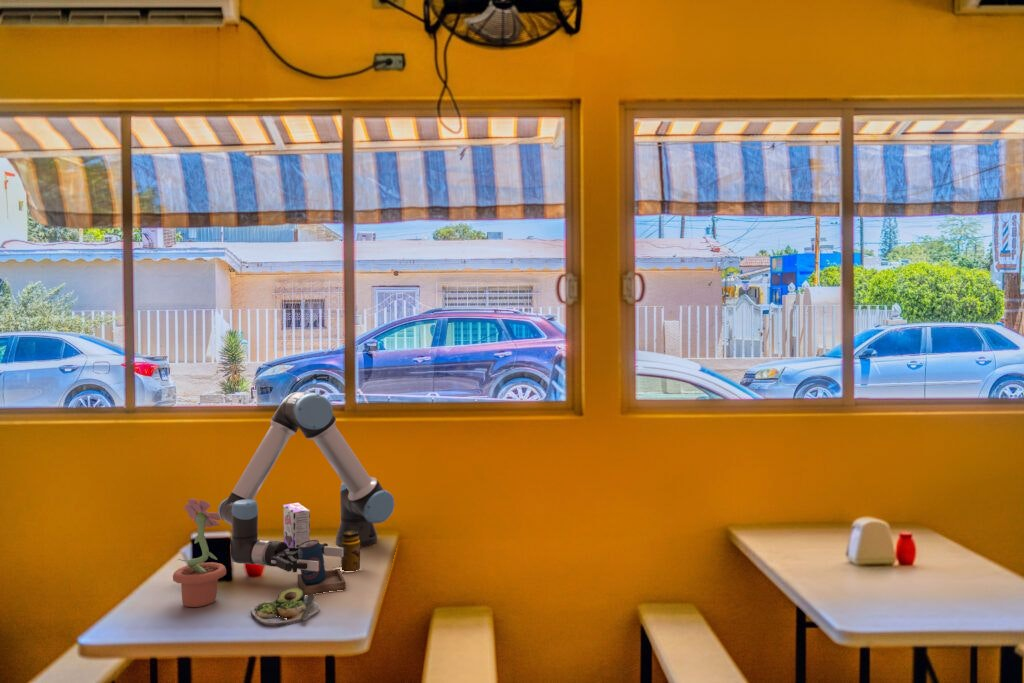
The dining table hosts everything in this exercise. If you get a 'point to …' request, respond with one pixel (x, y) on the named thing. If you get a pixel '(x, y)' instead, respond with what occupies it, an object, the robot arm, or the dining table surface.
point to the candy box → (296, 524)
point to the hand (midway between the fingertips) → (330, 559)
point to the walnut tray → (325, 583)
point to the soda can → (313, 553)
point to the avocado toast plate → (286, 608)
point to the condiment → (350, 551)
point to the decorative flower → (200, 562)
